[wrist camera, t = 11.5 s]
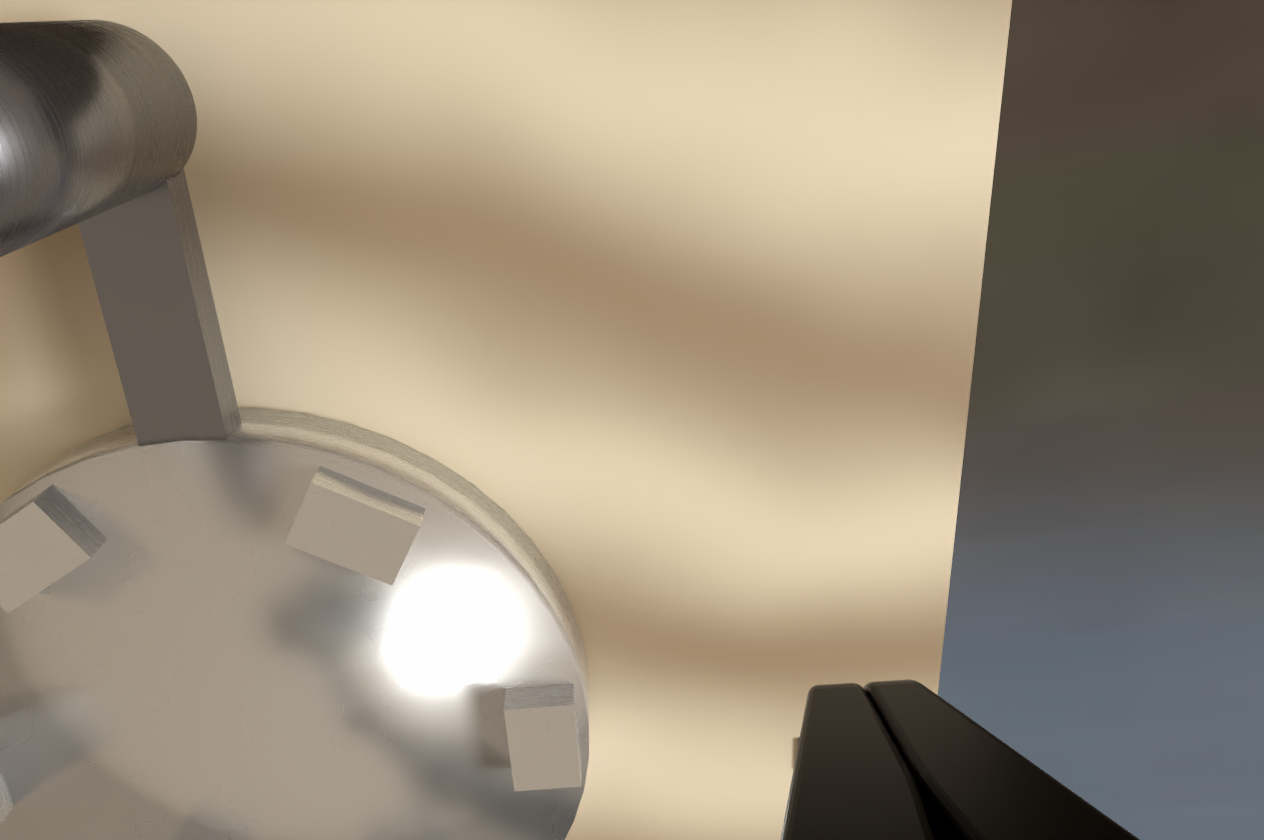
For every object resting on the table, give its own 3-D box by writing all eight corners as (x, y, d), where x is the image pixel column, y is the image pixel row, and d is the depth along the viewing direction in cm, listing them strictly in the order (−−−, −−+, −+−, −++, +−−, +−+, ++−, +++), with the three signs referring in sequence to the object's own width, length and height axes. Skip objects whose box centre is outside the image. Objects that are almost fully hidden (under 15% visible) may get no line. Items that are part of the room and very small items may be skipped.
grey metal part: (609, 897, 22) (617, 1216, 16) (55, 941, 22) (-135, 1277, 16) (527, -7, 15) (489, -13, 9) (-296, 44, 15) (-862, 72, 9)
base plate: (885, 966, 25) (903, 1026, 24) (83, 1014, 25) (51, 1078, 23) (979, -31, 16) (1018, -34, 15) (-268, 10, 16) (-355, 11, 14)
